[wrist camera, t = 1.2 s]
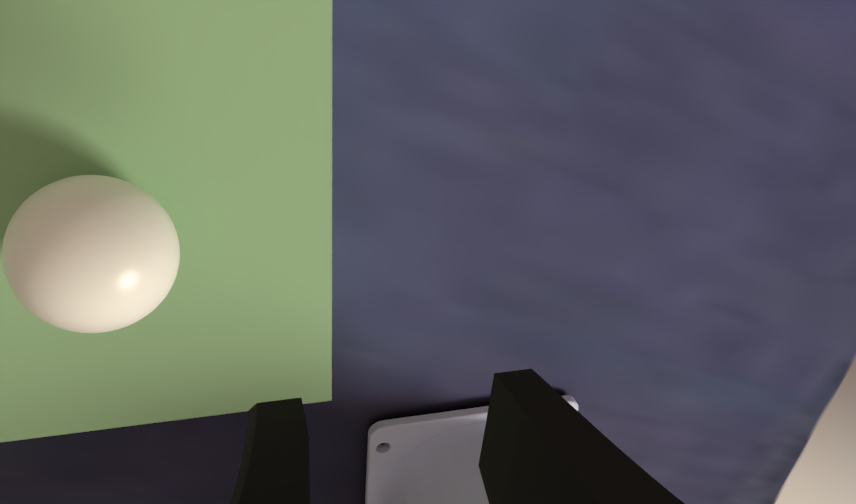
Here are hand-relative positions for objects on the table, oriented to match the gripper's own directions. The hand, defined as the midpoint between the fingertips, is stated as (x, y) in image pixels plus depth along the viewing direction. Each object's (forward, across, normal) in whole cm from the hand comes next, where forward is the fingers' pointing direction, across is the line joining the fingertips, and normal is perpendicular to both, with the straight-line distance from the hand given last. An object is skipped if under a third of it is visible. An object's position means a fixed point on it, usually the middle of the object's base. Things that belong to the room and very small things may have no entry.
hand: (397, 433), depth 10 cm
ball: (+7, +5, 0) cm, 9 cm away
